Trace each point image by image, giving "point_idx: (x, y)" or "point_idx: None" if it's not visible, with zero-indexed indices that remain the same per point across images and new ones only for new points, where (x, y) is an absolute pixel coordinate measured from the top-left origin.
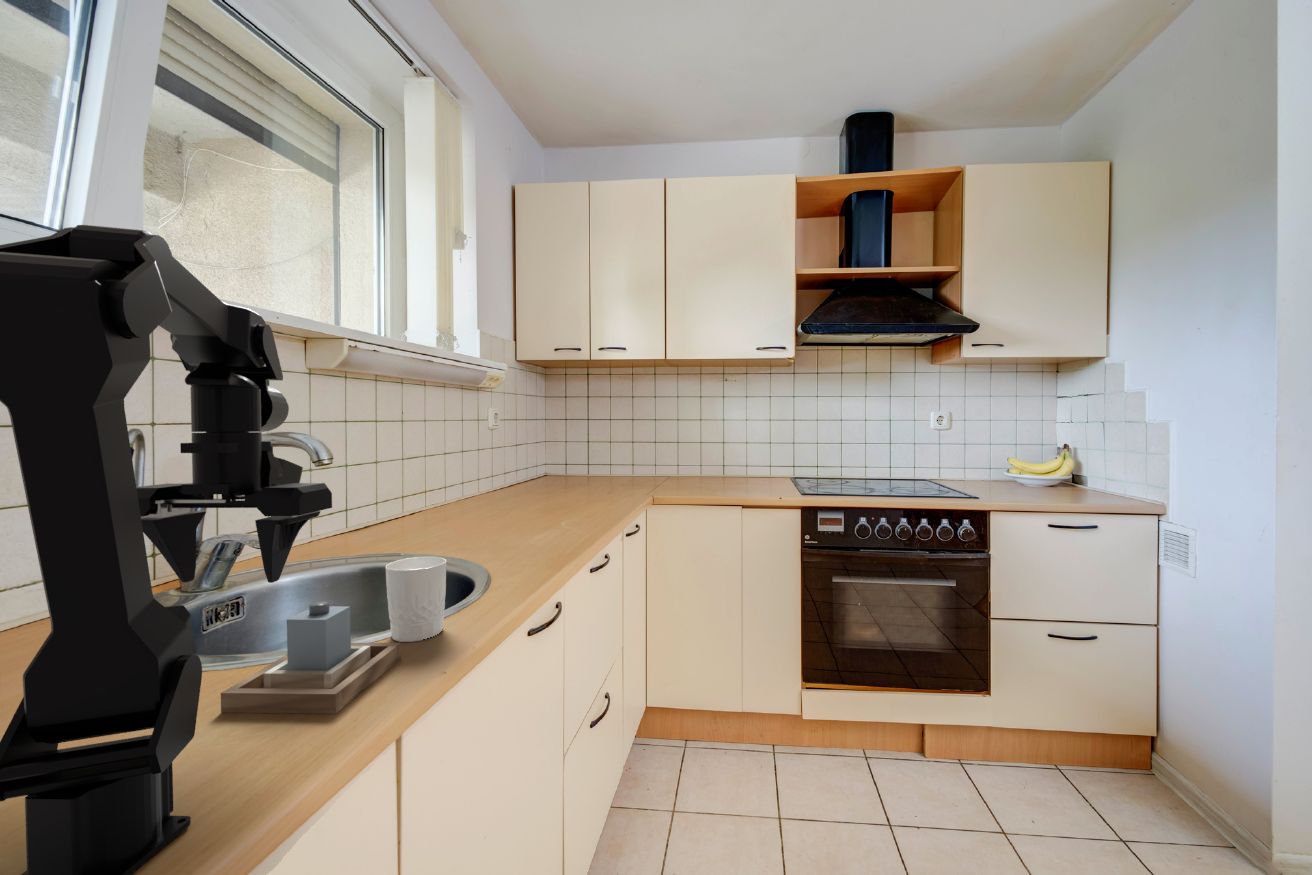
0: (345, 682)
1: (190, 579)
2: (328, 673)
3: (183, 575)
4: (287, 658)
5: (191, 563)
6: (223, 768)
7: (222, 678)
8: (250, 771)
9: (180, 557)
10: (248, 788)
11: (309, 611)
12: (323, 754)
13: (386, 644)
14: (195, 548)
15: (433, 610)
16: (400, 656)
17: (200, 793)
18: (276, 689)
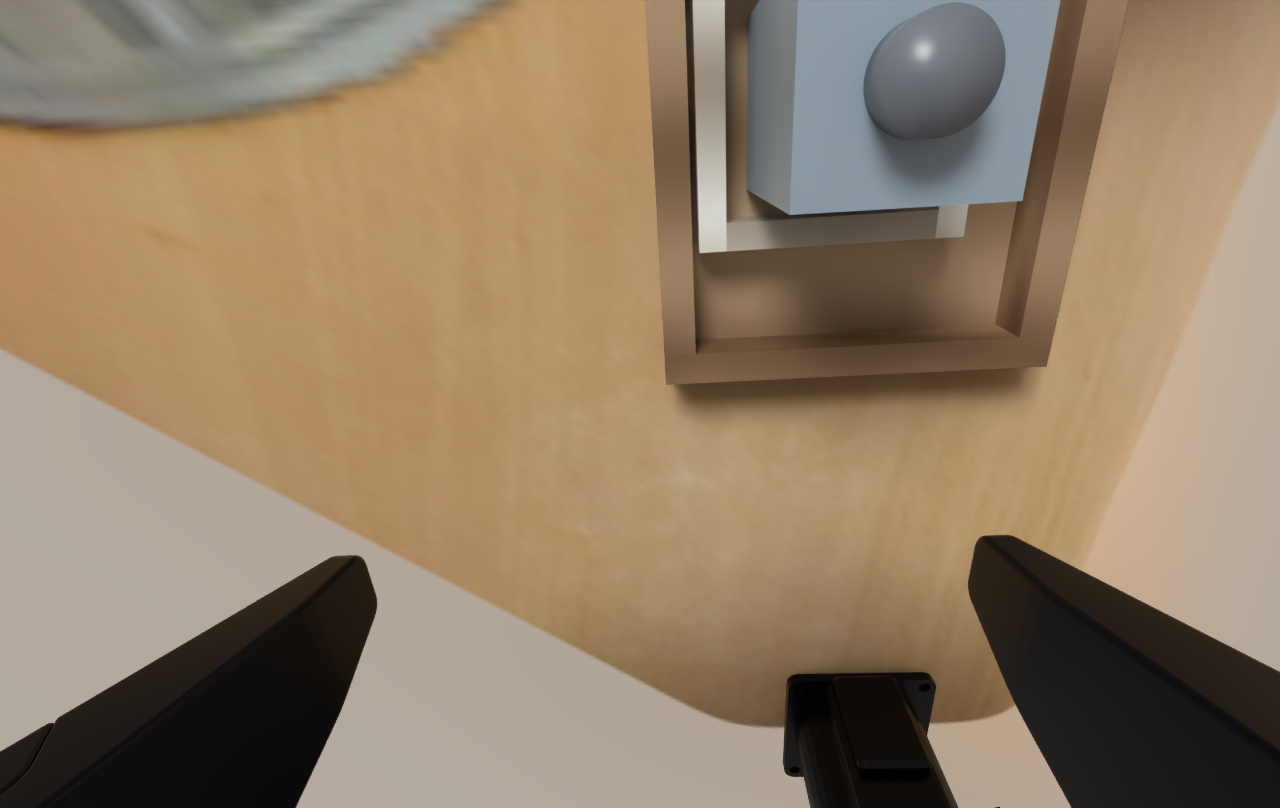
0: (1045, 289)
1: (365, 582)
2: (952, 235)
3: (358, 655)
4: (757, 195)
5: (292, 659)
6: (867, 555)
7: (456, 152)
8: (932, 560)
9: (274, 798)
10: (963, 599)
11: (882, 123)
12: (1064, 505)
13: None
14: (163, 724)
15: None
16: None
17: (880, 613)
18: (828, 351)
